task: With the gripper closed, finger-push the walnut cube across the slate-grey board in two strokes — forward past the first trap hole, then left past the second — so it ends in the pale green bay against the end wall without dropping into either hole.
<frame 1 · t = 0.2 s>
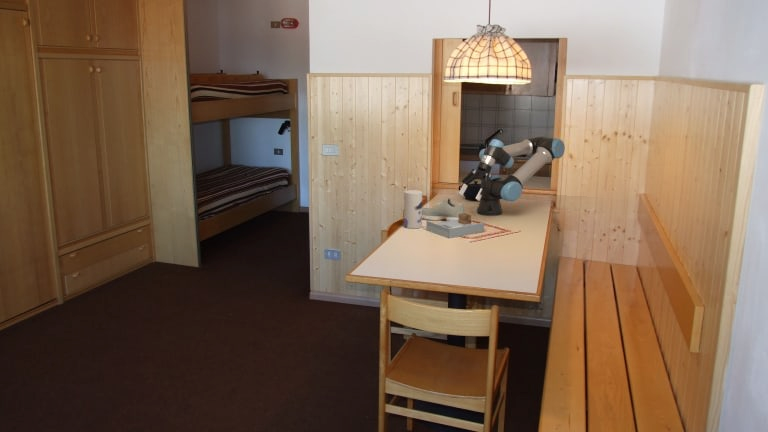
hand: (468, 197, 373), 16 cm above the table, tool tilted 35°, fingers open, 13 cm apart
block: (464, 223, 365), point 3 cm above the table, touching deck
container: (412, 226, 370), on the table
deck: (455, 230, 361), on the table
teapot: (476, 199, 440), on the table
running shoe: (441, 220, 385), on the table
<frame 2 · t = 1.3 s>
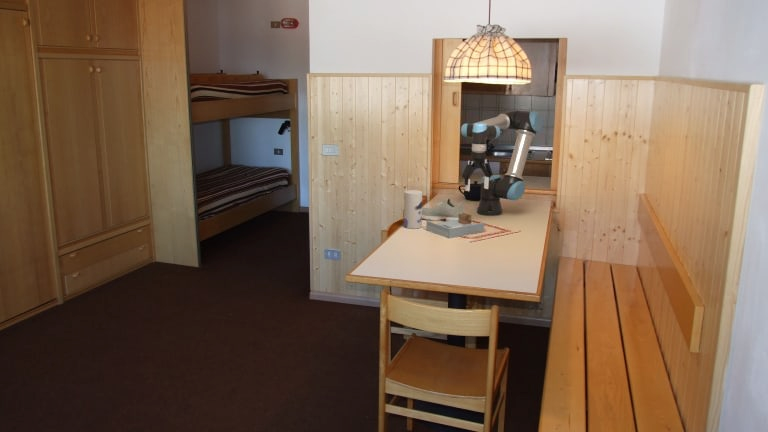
hand: (476, 189, 366), 21 cm above the table, tool pointing down, fingers open, 13 cm apart
nothing on the table moved.
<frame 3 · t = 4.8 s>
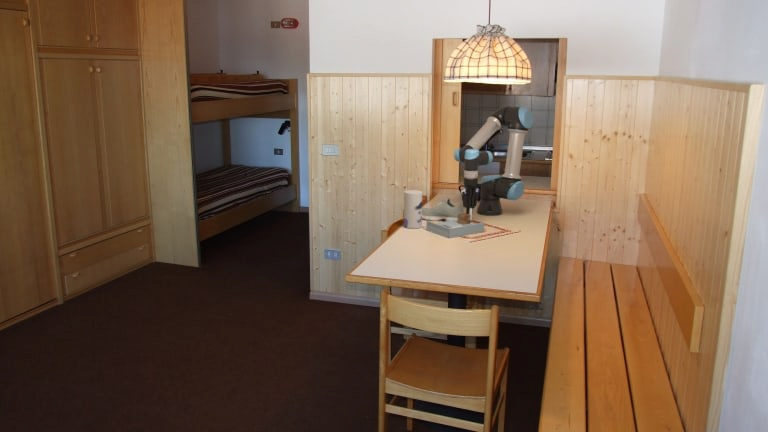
hand: (469, 219, 367), 5 cm above the table, tool pointing down, fingers closed
block: (463, 223, 365), point 3 cm above the table, touching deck, gripper
everything else where it was.
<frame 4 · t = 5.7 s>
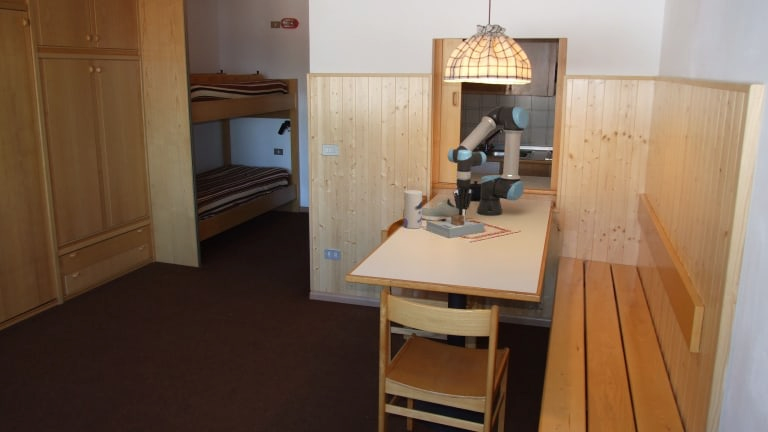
hand: (462, 220, 364), 5 cm above the table, tool pointing down, fingers closed
block: (457, 224, 363), point 3 cm above the table, touching gripper
everything else where it was.
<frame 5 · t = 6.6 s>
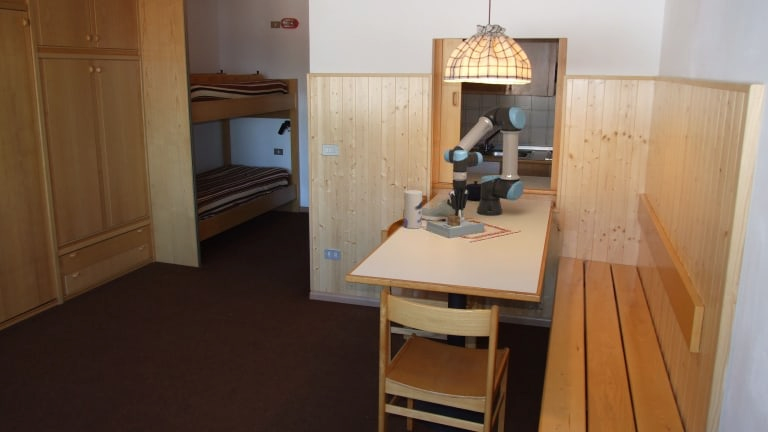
hand: (458, 221, 363), 5 cm above the table, tool pointing down, fingers closed
block: (453, 225, 361), point 3 cm above the table, touching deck, gripper
everything else where it was.
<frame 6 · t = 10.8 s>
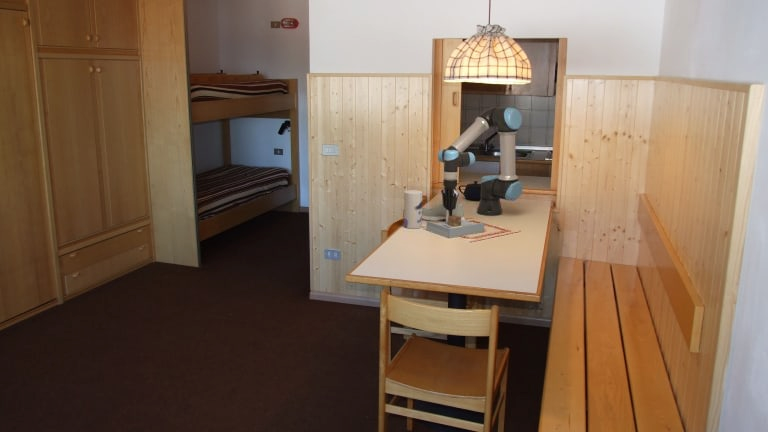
hand: (448, 221, 363), 5 cm above the table, tool pointing down, fingers closed
block: (454, 225, 360), point 3 cm above the table, touching gripper
everything else where it was.
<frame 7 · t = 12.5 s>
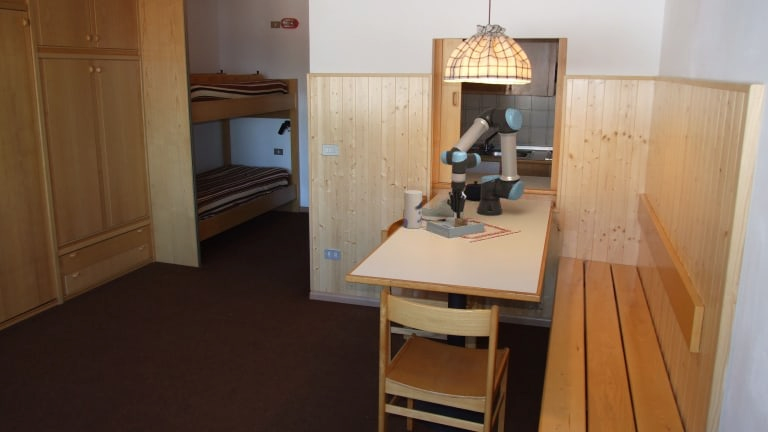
hand: (456, 223, 358), 5 cm above the table, tool pointing down, fingers closed
block: (460, 227, 356), point 3 cm above the table, touching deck, gripper
everything else where it was.
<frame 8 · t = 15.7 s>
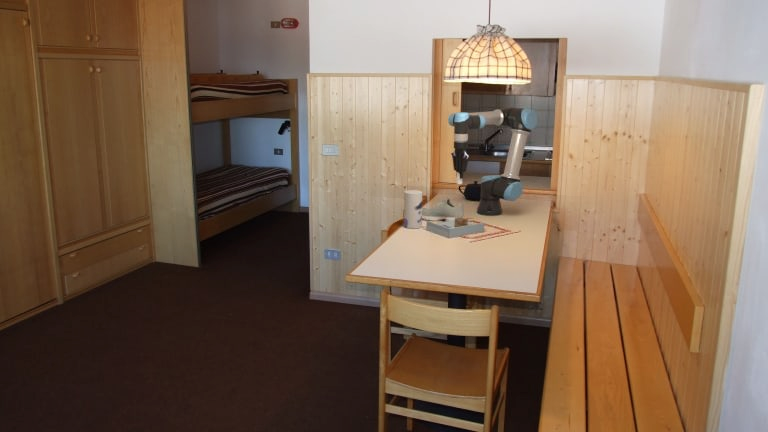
hand: (459, 184, 364), 24 cm above the table, tool pointing down, fingers closed
block: (461, 227, 356), point 3 cm above the table, touching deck
everything else where it was.
at the end: block 1.4 cm from the target spot on the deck, point 3.0 cm above the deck's base; block tilted 0° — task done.
